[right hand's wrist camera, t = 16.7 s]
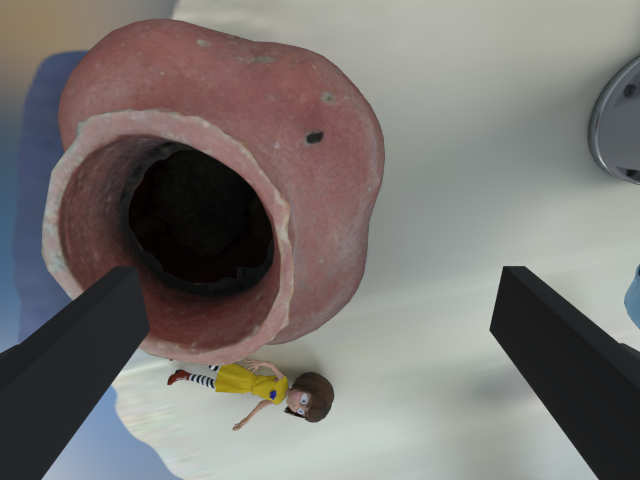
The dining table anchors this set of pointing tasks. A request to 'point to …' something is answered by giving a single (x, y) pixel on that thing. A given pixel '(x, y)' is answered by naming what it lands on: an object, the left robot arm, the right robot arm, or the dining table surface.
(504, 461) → the dining table surface
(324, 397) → the figurine
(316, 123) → the clay pot
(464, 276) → the dining table surface
